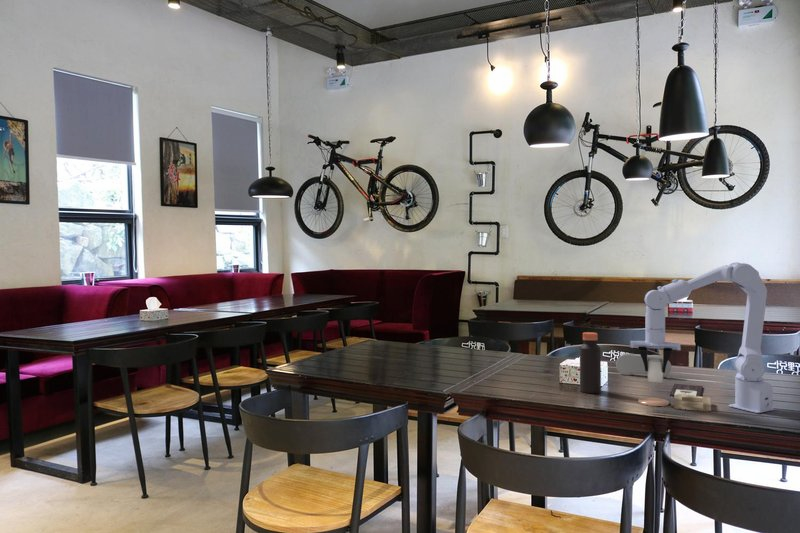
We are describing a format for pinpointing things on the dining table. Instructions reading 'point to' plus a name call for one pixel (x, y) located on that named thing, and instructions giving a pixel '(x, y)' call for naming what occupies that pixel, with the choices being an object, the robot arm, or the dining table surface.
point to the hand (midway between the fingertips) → (655, 371)
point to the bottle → (590, 364)
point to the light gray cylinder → (655, 370)
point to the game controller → (636, 364)
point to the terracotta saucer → (653, 401)
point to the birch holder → (692, 403)
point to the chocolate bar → (686, 390)
